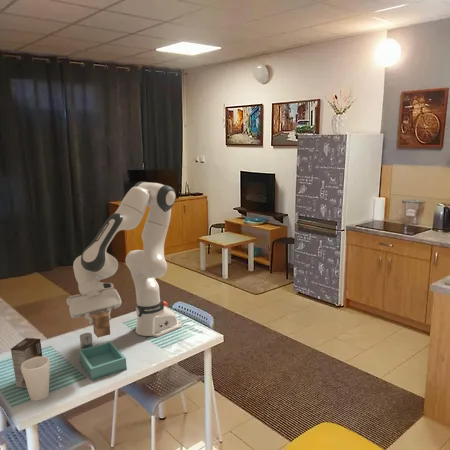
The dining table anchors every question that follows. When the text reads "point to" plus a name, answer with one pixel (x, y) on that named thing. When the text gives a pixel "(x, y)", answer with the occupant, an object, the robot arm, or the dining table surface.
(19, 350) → the coffee box
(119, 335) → the dining table surface
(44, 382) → the foam cup
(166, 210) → the robot arm
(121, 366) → the tote
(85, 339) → the grey cylinder
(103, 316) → the walnut block
